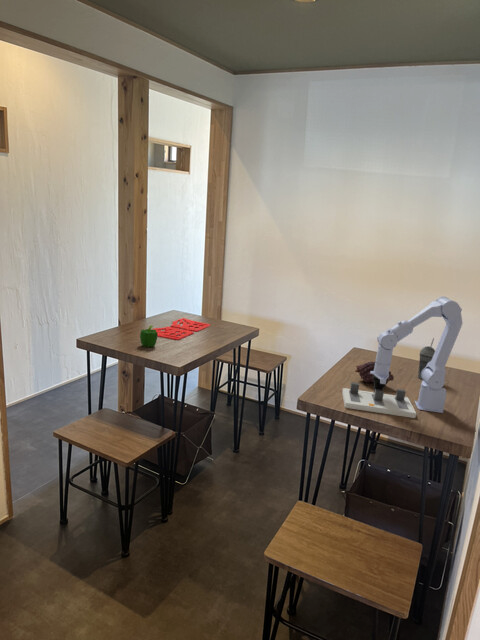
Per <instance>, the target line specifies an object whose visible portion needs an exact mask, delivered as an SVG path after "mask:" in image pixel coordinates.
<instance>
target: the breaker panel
mask: <svg viewBox="0 0 480 640" xmlns="http://www.w3.org/2000/svg"><path fill="white" fill-rule="evenodd" d="M341 392H342V399H343V403H344V404H343V405H344V409H351V410H358V411H359V410H360V411H364V412H371V413H377V414H378V413H379V414H385V415H391V416H399V417H404V418H405V417H406V418H412V419H416V418H417V417H416V416H417V412H416V410H415V408H414V406H413V404H412V403H411V401H410V399H409V397H408V396H405V398H404V401H403V400H396V398H395V397H396V394H395V395H393V394H386V393H384V394H383V399H382V401H378V400H374V391H366V390H358V394H355V393H350V388H347V387H346V388H344V387H342V391H341Z"/></svg>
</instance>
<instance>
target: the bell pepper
mask: <svg viewBox="0 0 480 640" xmlns="http://www.w3.org/2000/svg"><path fill="white" fill-rule="evenodd" d="M153 327H154V326H153V325H152V324H151V325H150V326H148V328H145V329H141V330H140V334H139V338H140V344H141V346H142V347H146V348H154V347H155V346H156V343H157V340H158V337H157V335H158V334H157V332H156V330H155V329H154V328H153ZM151 329H153V330H151Z"/></svg>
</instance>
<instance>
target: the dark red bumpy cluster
mask: <svg viewBox="0 0 480 640" xmlns="http://www.w3.org/2000/svg"><path fill="white" fill-rule="evenodd" d="M355 366H356V369H355V373H359V374H358V375H359V376H360V379H362V381H364V382H366V383H367V384H368V383H374V381H373V377H372V376H375V375H373V374H371V373H370V372H371V371H374V367H375V361H367V362H365V363H364V364H359V365H355ZM394 378H395V376H394V374H392V372H391V370H389V377H388V378H387V380H388V382H392V381H394V380H395V379H394Z"/></svg>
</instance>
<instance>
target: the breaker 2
mask: <svg viewBox="0 0 480 640" xmlns="http://www.w3.org/2000/svg"><path fill="white" fill-rule="evenodd" d="M406 393H407V391H406V390H405V389H401V388H396V392H395V396H396V397H395V398H396V400H403V401H404V398H405V397H406Z"/></svg>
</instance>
